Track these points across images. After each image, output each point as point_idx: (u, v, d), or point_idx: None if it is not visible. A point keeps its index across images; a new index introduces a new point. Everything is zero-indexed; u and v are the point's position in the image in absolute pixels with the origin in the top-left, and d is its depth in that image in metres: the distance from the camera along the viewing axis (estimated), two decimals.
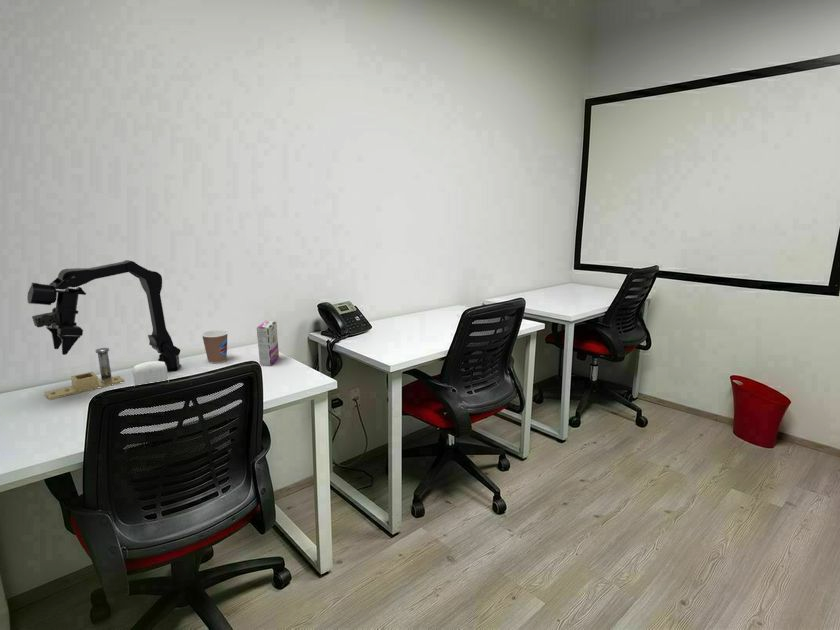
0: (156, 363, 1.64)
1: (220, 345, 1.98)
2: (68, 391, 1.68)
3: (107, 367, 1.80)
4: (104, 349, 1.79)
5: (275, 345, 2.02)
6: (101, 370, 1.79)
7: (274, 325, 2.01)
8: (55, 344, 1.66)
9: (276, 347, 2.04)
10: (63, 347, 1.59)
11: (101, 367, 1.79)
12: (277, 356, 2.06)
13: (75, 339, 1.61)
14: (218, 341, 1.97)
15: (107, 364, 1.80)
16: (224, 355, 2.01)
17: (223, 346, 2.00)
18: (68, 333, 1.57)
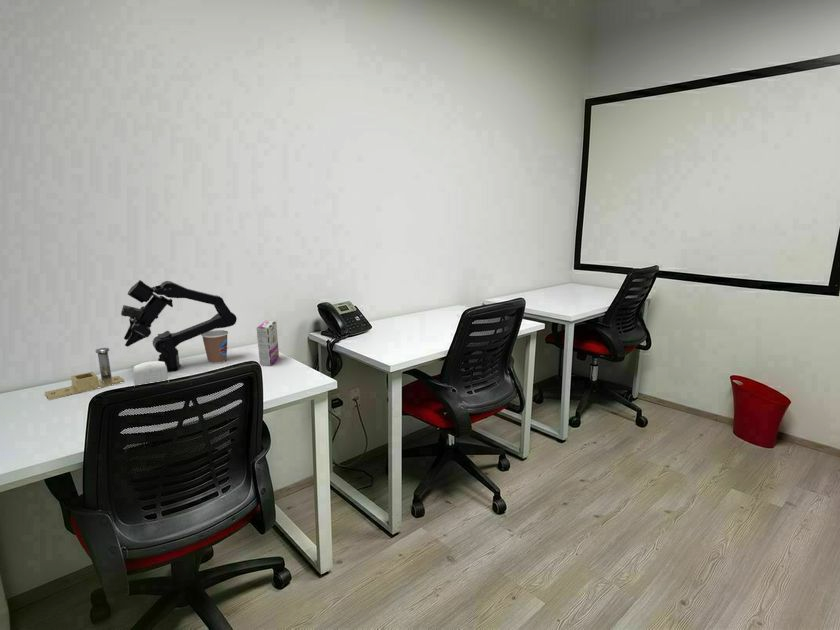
0: (156, 363, 1.64)
1: (220, 345, 1.99)
2: (68, 391, 1.68)
3: (107, 367, 1.80)
4: (104, 349, 1.79)
5: (275, 345, 2.02)
6: (101, 370, 1.79)
7: (274, 325, 2.01)
8: (126, 335, 1.86)
9: (276, 347, 2.04)
10: (129, 339, 1.78)
11: (101, 367, 1.79)
12: (277, 356, 2.06)
13: (141, 337, 1.79)
14: (218, 341, 1.97)
15: (107, 364, 1.80)
16: (224, 355, 2.01)
17: (223, 346, 2.00)
18: (138, 330, 1.76)
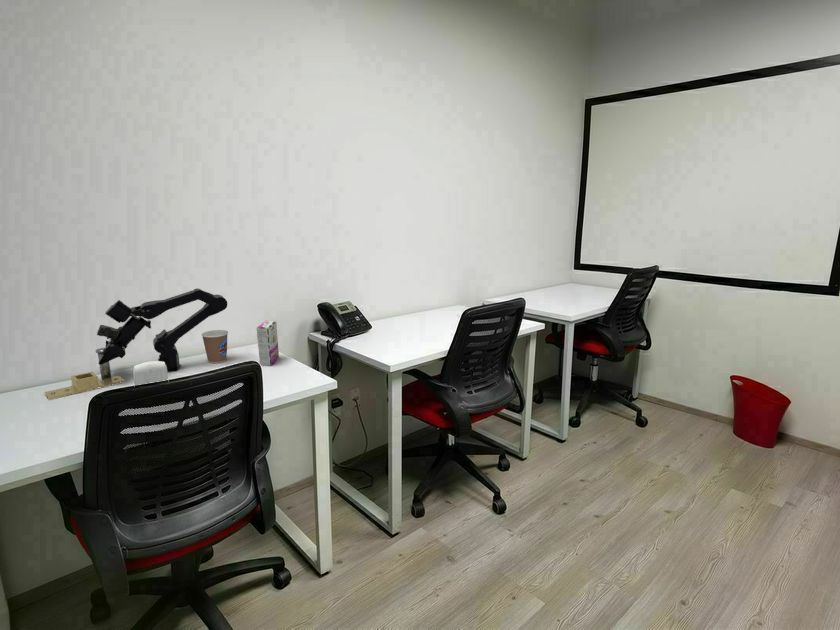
0: (156, 363, 1.64)
1: (220, 345, 1.98)
2: (68, 391, 1.68)
3: (107, 367, 1.80)
4: (104, 349, 1.79)
5: (275, 345, 2.02)
6: (101, 370, 1.79)
7: (274, 325, 2.01)
8: None
9: (276, 347, 2.04)
10: (102, 357, 1.77)
11: (101, 367, 1.79)
12: (277, 356, 2.06)
13: (115, 356, 1.79)
14: (217, 341, 1.97)
15: (107, 364, 1.80)
16: (224, 355, 2.01)
17: (223, 346, 2.00)
18: (112, 351, 1.73)
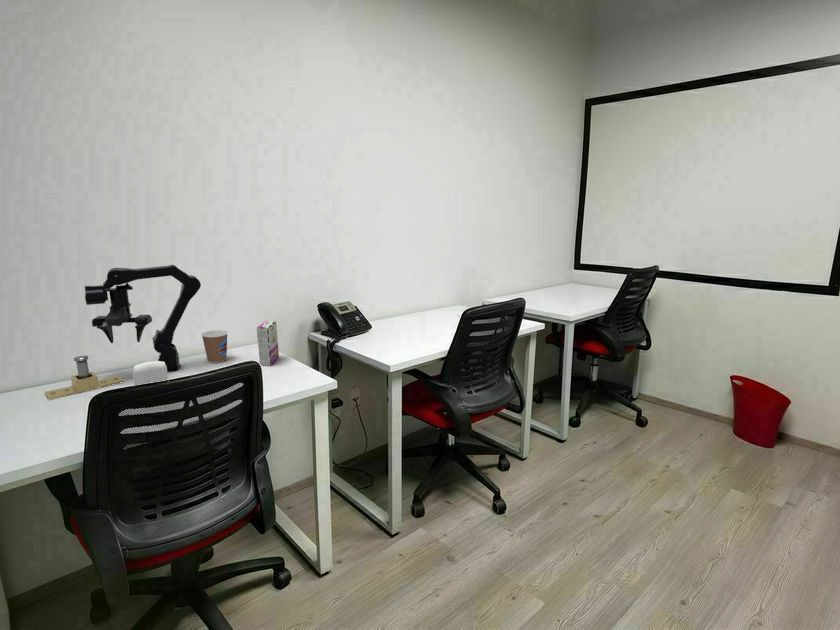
0: (156, 363, 1.64)
1: (219, 345, 1.98)
2: (68, 391, 1.68)
3: (88, 375, 1.71)
4: (83, 357, 1.70)
5: (275, 345, 2.02)
6: None
7: (274, 325, 2.01)
8: (111, 339, 1.81)
9: (276, 347, 2.04)
10: (139, 335, 1.82)
11: (81, 376, 1.70)
12: (277, 356, 2.06)
13: None
14: (217, 341, 1.97)
15: (87, 372, 1.71)
16: (224, 355, 2.01)
17: (222, 346, 2.00)
18: (148, 321, 1.82)
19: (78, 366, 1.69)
